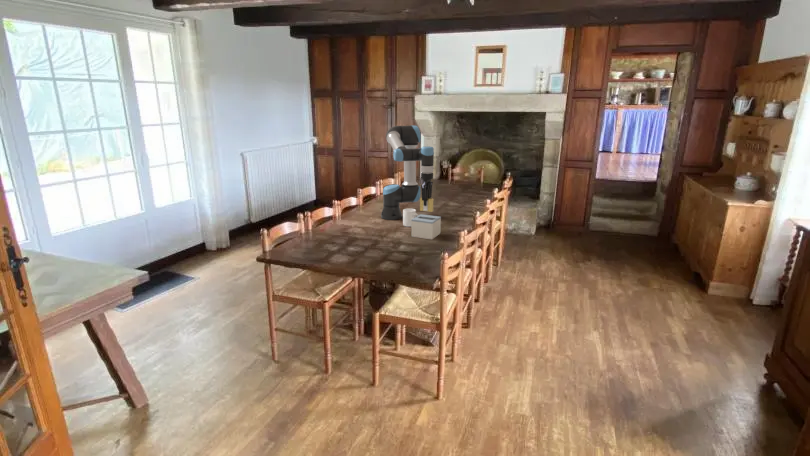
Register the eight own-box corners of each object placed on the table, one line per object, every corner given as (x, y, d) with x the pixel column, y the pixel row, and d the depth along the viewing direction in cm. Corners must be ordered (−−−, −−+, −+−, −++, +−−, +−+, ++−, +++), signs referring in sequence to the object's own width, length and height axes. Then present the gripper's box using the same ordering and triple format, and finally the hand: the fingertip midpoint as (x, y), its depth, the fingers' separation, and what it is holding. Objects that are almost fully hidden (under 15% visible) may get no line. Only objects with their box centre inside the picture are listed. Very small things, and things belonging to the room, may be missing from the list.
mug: (416, 228, 286) (416, 212, 283) (400, 225, 292) (400, 210, 288) (422, 225, 293) (422, 209, 290) (406, 222, 299) (406, 207, 296)
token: (419, 210, 268) (420, 197, 266) (421, 209, 271) (421, 197, 268) (431, 211, 265) (432, 199, 263) (433, 210, 267) (433, 198, 265)
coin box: (411, 236, 269) (411, 219, 266) (420, 230, 281) (420, 214, 278) (432, 239, 264) (432, 222, 260) (440, 233, 276) (440, 216, 273)
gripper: (427, 174, 253) (427, 213, 259) (437, 171, 266) (436, 208, 273) (416, 173, 256) (415, 212, 263) (426, 170, 269) (425, 206, 276)
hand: (426, 210), depth 268 cm, fingers closed on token, 2 cm apart
